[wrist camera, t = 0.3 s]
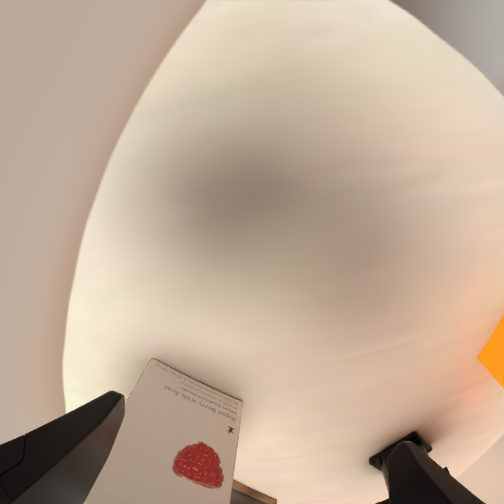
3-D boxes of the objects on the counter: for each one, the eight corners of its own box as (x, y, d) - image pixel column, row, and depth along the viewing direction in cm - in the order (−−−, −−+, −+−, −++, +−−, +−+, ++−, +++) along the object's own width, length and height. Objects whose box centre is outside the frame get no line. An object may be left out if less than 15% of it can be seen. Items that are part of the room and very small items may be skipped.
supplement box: (247, 400, 23) (230, 558, 9) (206, 447, 26) (179, 568, 11) (151, 354, 23) (69, 498, 8) (126, 409, 25) (67, 523, 10)
